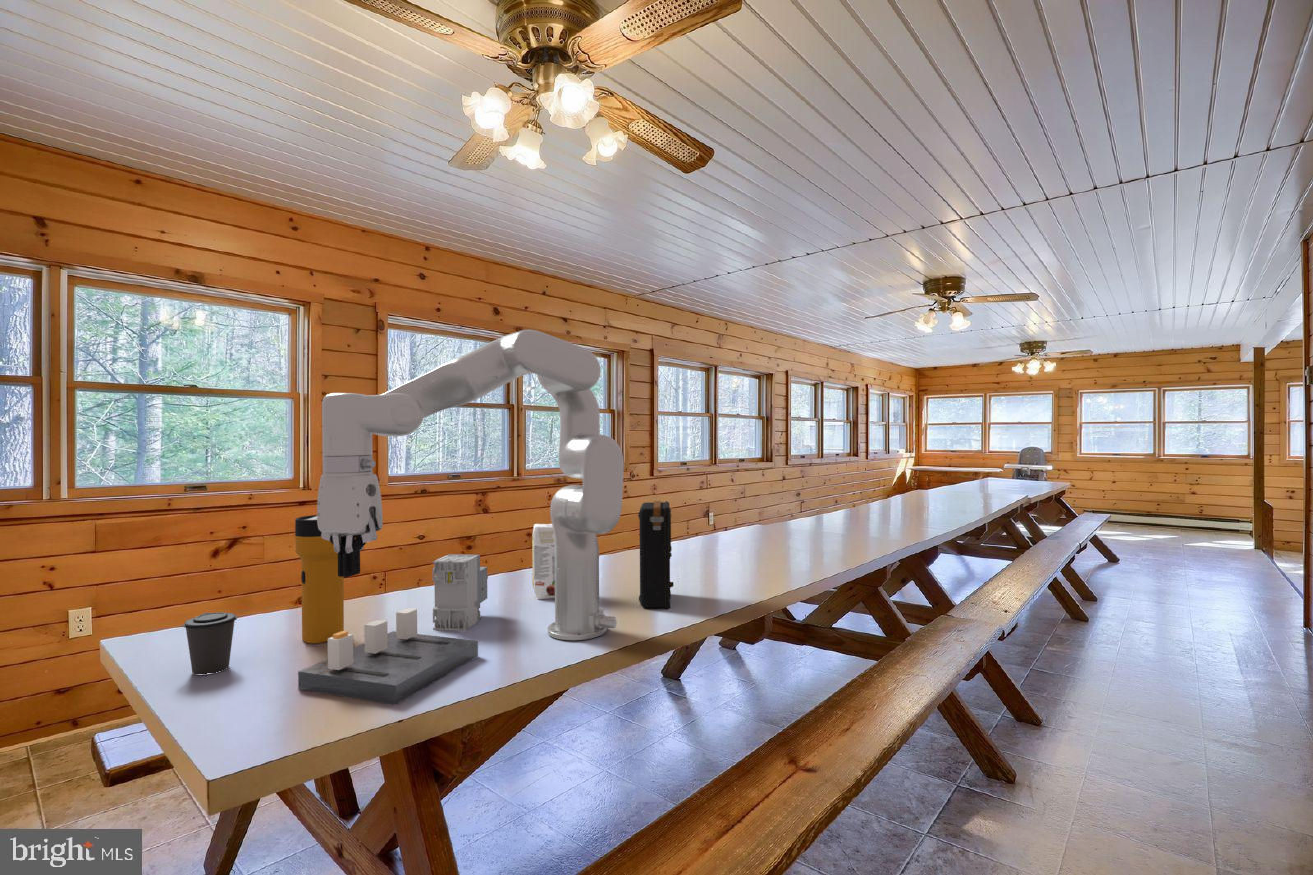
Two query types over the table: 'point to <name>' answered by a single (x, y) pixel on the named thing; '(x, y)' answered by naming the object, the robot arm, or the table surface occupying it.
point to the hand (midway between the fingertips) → (349, 574)
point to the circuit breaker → (458, 591)
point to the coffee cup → (210, 641)
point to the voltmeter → (655, 554)
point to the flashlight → (318, 583)
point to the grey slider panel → (391, 668)
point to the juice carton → (543, 561)
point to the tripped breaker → (340, 650)
